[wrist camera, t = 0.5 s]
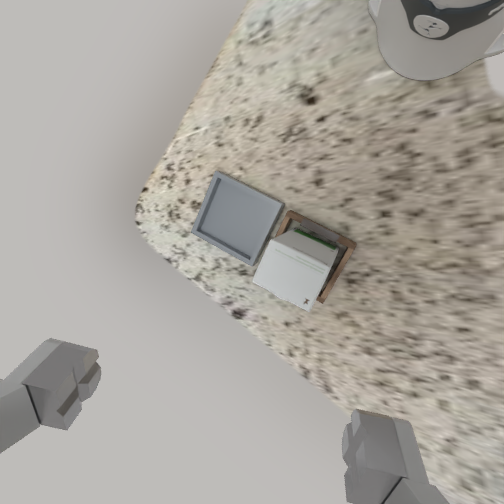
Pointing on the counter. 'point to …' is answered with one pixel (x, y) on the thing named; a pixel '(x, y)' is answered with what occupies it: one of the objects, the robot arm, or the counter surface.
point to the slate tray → (237, 218)
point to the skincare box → (296, 267)
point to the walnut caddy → (327, 234)
